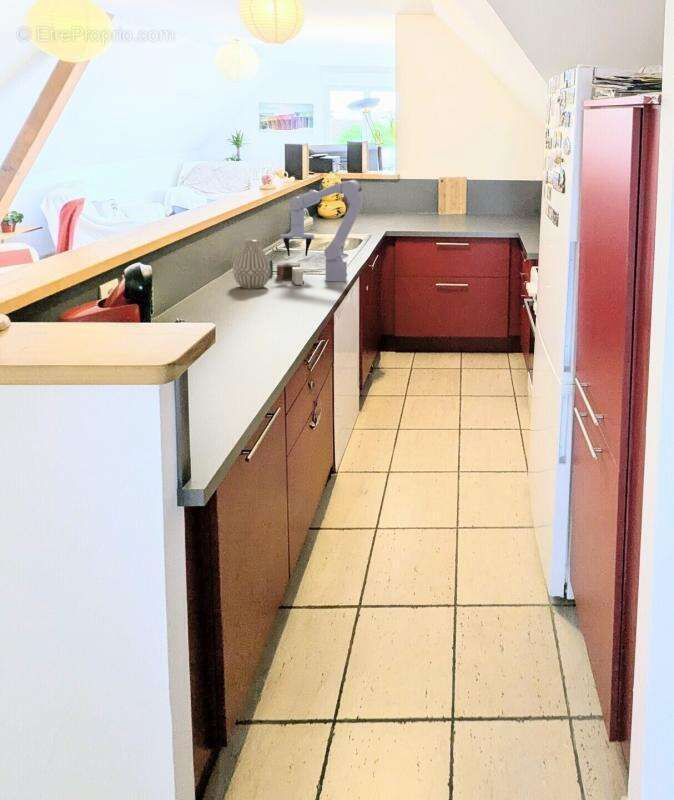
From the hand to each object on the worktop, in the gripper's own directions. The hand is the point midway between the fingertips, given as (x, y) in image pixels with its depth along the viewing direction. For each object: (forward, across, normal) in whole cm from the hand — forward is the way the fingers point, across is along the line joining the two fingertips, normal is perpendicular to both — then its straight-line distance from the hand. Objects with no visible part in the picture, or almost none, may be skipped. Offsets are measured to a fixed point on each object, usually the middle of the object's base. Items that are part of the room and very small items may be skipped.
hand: (297, 255), depth 437 cm
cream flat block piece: (+9, 0, +14) cm, 17 cm away
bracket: (+10, +16, +3) cm, 20 cm away
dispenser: (+10, +4, +2) cm, 11 cm away
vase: (+10, +19, +24) cm, 33 cm away
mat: (+10, 0, +14) cm, 17 cm away
